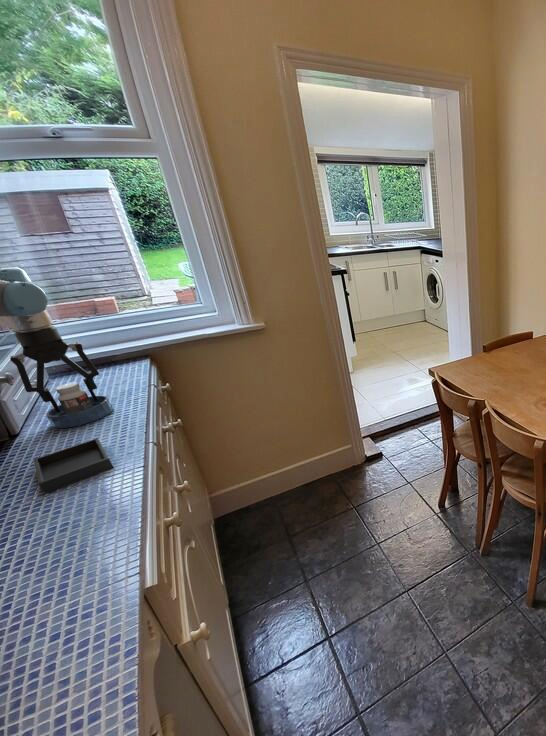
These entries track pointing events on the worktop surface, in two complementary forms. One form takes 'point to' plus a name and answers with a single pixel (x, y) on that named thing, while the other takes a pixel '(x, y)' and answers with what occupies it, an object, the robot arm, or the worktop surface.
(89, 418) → the bowl
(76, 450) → the tray
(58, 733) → the worktop surface
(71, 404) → the pill bottle
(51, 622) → the worktop surface
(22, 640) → the worktop surface
